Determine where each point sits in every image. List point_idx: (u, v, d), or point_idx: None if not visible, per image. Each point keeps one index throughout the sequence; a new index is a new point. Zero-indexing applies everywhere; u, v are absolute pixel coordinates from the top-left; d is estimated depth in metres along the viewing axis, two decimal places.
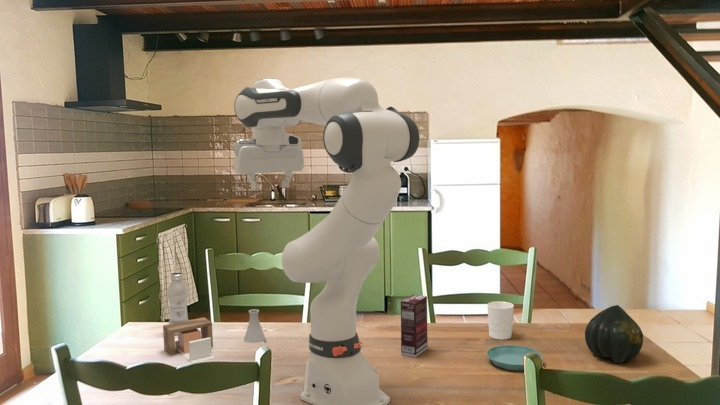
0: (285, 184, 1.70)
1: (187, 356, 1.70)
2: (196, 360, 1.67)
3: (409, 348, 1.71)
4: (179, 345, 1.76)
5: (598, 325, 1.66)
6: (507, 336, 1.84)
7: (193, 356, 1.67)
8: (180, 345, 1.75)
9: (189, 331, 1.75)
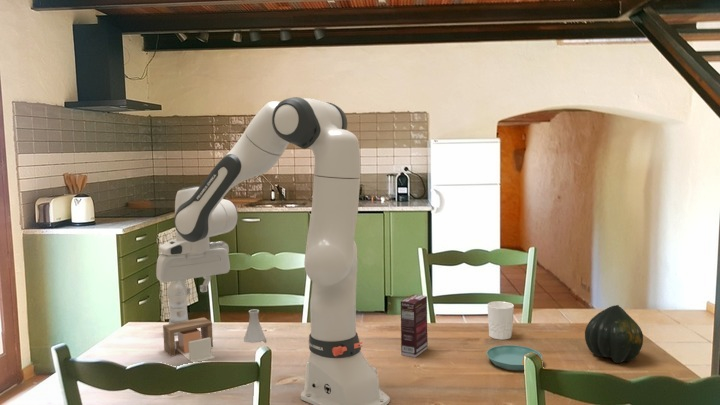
0: None
1: (187, 356, 1.70)
2: (196, 360, 1.67)
3: (409, 348, 1.71)
4: (179, 345, 1.76)
5: (598, 325, 1.66)
6: (507, 336, 1.84)
7: (193, 356, 1.67)
8: (180, 345, 1.75)
9: (189, 331, 1.75)
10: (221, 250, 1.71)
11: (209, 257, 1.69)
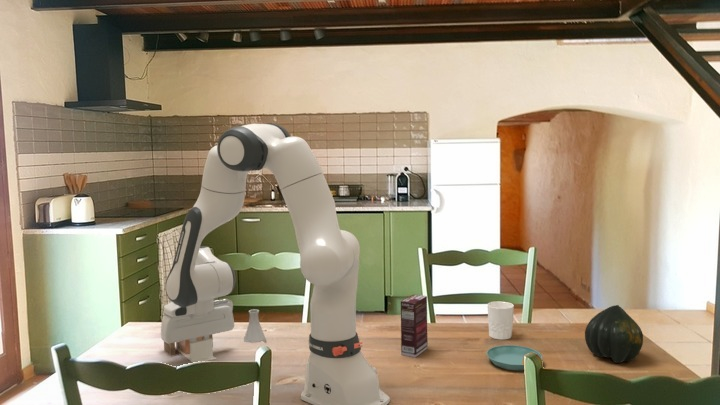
0: None
1: (188, 357, 1.69)
2: (197, 361, 1.66)
3: (409, 348, 1.71)
4: (180, 346, 1.75)
5: (598, 325, 1.66)
6: (507, 336, 1.84)
7: (194, 357, 1.67)
8: (182, 345, 1.74)
9: None
10: (225, 308, 1.71)
11: (213, 316, 1.70)
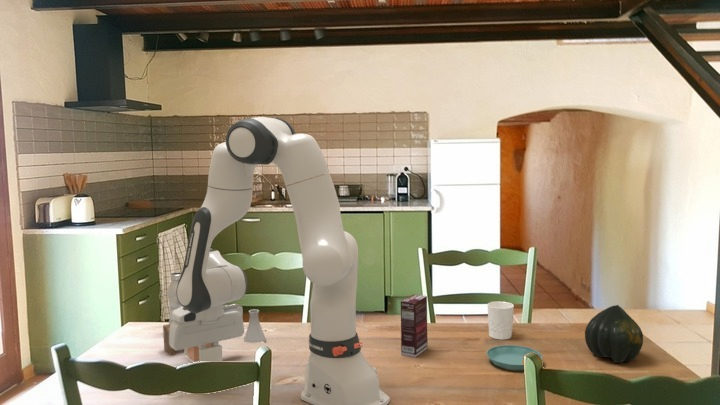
0: None
1: None
2: None
3: (409, 348, 1.71)
4: (188, 353, 1.69)
5: (598, 325, 1.66)
6: (507, 336, 1.84)
7: None
8: (190, 352, 1.68)
9: None
10: (235, 314, 1.66)
11: (223, 321, 1.64)
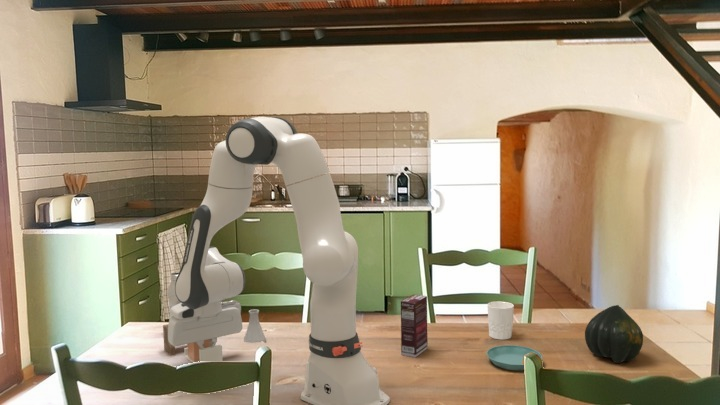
0: None
1: None
2: None
3: (409, 348, 1.71)
4: (189, 353, 1.69)
5: (598, 325, 1.66)
6: (507, 336, 1.84)
7: None
8: (190, 352, 1.68)
9: None
10: (233, 310, 1.67)
11: (221, 318, 1.66)
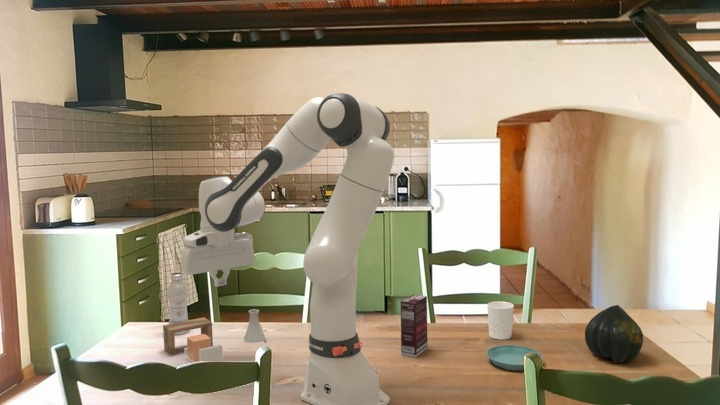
0: None
1: None
2: None
3: (409, 348, 1.71)
4: (189, 353, 1.69)
5: (598, 325, 1.66)
6: (507, 336, 1.84)
7: None
8: (190, 352, 1.68)
9: (199, 338, 1.69)
10: (246, 241, 1.68)
11: (234, 248, 1.66)
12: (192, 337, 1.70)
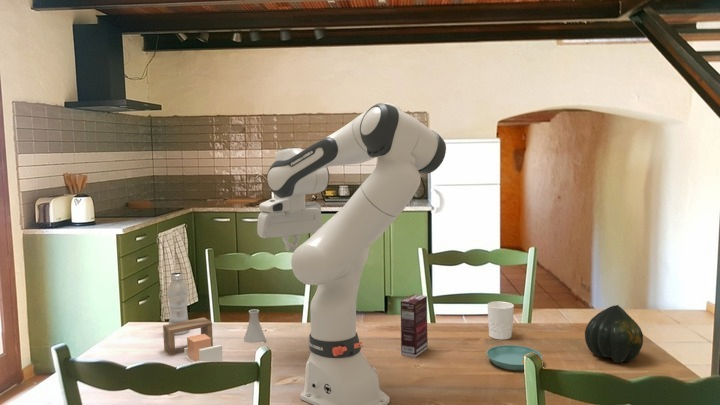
0: None
1: None
2: None
3: (409, 348, 1.71)
4: (189, 353, 1.69)
5: (598, 325, 1.66)
6: (507, 336, 1.84)
7: None
8: (190, 352, 1.68)
9: (199, 338, 1.69)
10: (315, 210, 1.79)
11: (304, 216, 1.78)
12: (192, 337, 1.70)
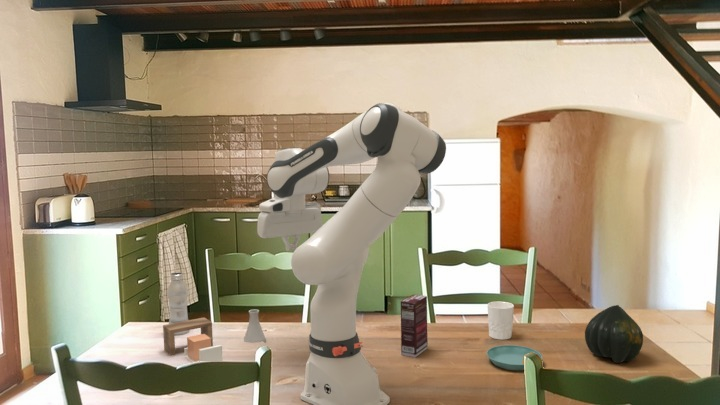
0: None
1: None
2: None
3: (409, 348, 1.71)
4: (189, 353, 1.69)
5: (598, 325, 1.66)
6: (507, 336, 1.84)
7: None
8: (190, 352, 1.68)
9: (199, 338, 1.69)
10: (315, 210, 1.79)
11: (304, 216, 1.78)
12: (192, 337, 1.70)
